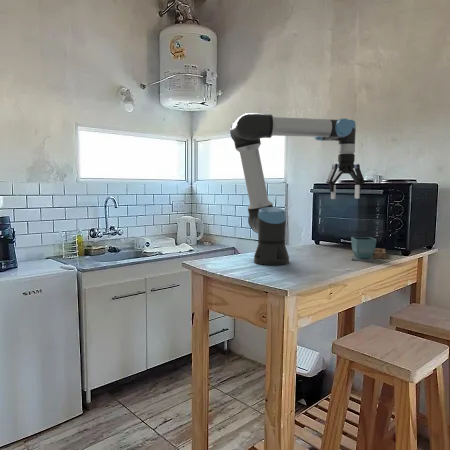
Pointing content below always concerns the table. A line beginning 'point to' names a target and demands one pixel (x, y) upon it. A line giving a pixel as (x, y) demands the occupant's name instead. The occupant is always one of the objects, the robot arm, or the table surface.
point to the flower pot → (363, 246)
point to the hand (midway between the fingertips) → (345, 198)
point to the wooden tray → (379, 253)
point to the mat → (362, 259)
